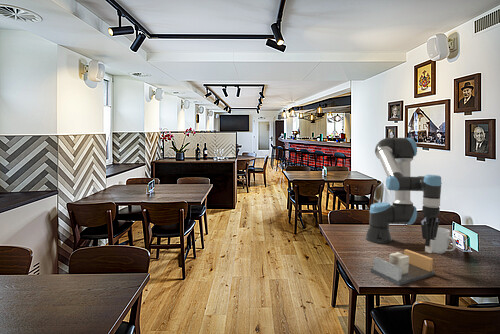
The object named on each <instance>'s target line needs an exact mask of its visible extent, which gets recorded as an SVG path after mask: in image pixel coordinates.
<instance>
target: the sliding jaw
mask: <svg viewBox="0 0 500 334" xmlns="http://www.w3.org/2000/svg"><path fill="white" fill-rule="evenodd" d="M403 254H404V255H407V256H409V264H412V265H414V266H417V267H419V268H422V269H424V270H427V271H429V272H430V271H433V264H434V262H433V261H434V258H432V257H429V256H427V255H424V254H421V253H418V252H415V251H413V250H409V249H404V250H403Z"/></svg>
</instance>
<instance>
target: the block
mask: <svg viewBox="0 0 500 334" xmlns="http://www.w3.org/2000/svg"><path fill="white" fill-rule="evenodd" d="M388 257H389V260H388V262H390V263H392V264H395V265H397V266H399V267H402V274H405V273H408V267H409V256H407V255H404V253H402V252H399V251H397V252H393V253H390V254H389V256H388Z"/></svg>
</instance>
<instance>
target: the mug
mask: <svg viewBox="0 0 500 334" xmlns="http://www.w3.org/2000/svg"><path fill="white" fill-rule="evenodd" d="M450 234H451V230H449V229H448V228H444V227H439V226H438V231H437V236H436V238H435V240H433V245H432V253H434V254H439V255H442V254H445V253H446V252H453V251H454V250H455V249H456V247H457V243H456V239H454V237H452V236H451V235H450ZM450 240H451V241H452V243H453V247H452V248H451V249H448V247H449V243H450Z"/></svg>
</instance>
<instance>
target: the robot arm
mask: <svg viewBox="0 0 500 334" xmlns="http://www.w3.org/2000/svg"><path fill="white" fill-rule="evenodd" d="M374 153H375V156H376V158H377V159H379V161H380V164H381V166H382V167H383V169H384V173H385V174H386V176H387V177H386V179H385V187H386V189H387V190H389V191H395V192H394V197H395V198H394V200H393V201H392V205H391V204H390V202H383V201H382V202H374V203H372V204H370V206H369V226H368V229H367V232H366V234H365V239H366V240H367V241H369V242H372V243H376V244H390V243H391V242H393V241H392V239H393V238H392V236H391V231H390V225H404V226H407V225H408V226H409V225H413V224H414V223H415V222H416V220H417V216H418V211H417V207H416V206H415V205H414V203H413V202H412V201H411V191H412V192H422V193H423V194H422V208H421V209H422V212H421V213H422V214H424V215H423V219H422V220H419V221H420V222H419V223H420V226H421V236H422V239H423V240H425V245H424V246H425V247H424V252H425V253H428V254H432V253H433V252H432V245H433V240H435V238H436V236H437V231H438V227H439V225H440V222H441V218H438V216H439V215H440V213H441V212H440V209H441V208H440V206H441V193H442V184H443V183H442V176H440V175H438V174H426V175H423V176H422V175H421V176H420V175H418V176H411V162H412V161H413V160H414V157H417V155H418V146H417V143H416V140H415V139H414V138H412V137H385V138H383V139H381V140H379V142H378V143H377V144H376V146H375V148H374Z"/></svg>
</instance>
